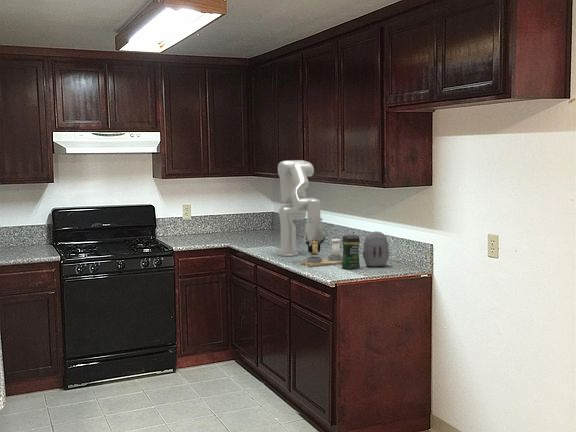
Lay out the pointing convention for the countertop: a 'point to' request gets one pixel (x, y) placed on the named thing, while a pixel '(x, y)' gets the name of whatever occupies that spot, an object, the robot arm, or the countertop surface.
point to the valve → (314, 247)
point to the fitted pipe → (335, 251)
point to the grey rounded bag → (376, 249)
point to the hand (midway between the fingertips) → (314, 251)
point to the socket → (314, 259)
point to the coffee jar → (350, 252)
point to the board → (324, 263)
